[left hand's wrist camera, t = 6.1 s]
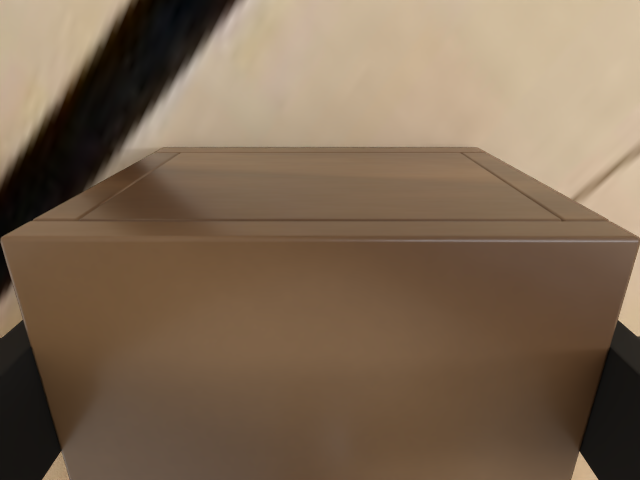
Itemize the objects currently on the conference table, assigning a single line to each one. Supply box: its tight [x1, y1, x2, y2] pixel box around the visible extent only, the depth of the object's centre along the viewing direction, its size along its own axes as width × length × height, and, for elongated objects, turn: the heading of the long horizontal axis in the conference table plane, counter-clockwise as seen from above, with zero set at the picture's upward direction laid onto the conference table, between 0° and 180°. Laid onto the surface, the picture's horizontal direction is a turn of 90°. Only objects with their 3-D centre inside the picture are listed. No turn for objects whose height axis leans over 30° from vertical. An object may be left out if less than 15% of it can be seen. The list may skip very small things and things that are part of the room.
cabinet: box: [0, 148, 640, 480], centre depth 15 cm, size 20×11×9 cm, turn 0°
